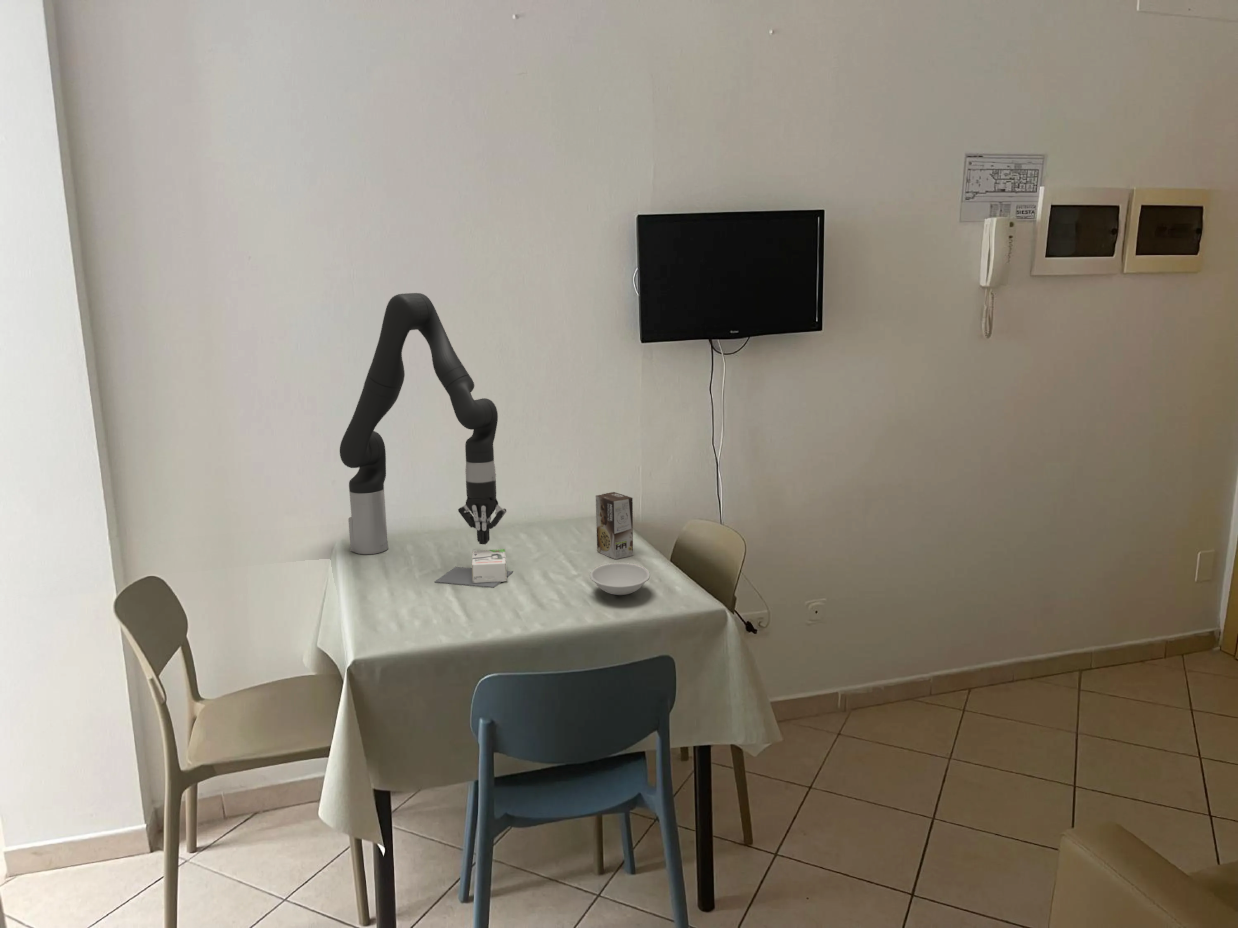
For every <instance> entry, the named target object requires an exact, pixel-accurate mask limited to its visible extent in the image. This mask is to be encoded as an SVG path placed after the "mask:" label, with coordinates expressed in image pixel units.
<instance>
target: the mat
mask: <svg viewBox="0 0 1238 928" xmlns="http://www.w3.org/2000/svg"><path fill="white" fill-rule="evenodd" d="M512 574H513V570H507V578H508V577H509V576H511V575H512ZM434 583H435V584H445V585H446V584H447V585H457V586H458V585H460V586H468V587H479V588H491V589H495V588H496V587H497V586H498V585H499V584H500V583H502V582H483V583H473V581H472V567H464V566H455V567H453V568H451V569H450V570H449V571H447V572H446V573H444V574H443V575H442V576H440V577H438V578H437V579H436V580H434Z"/></svg>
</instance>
